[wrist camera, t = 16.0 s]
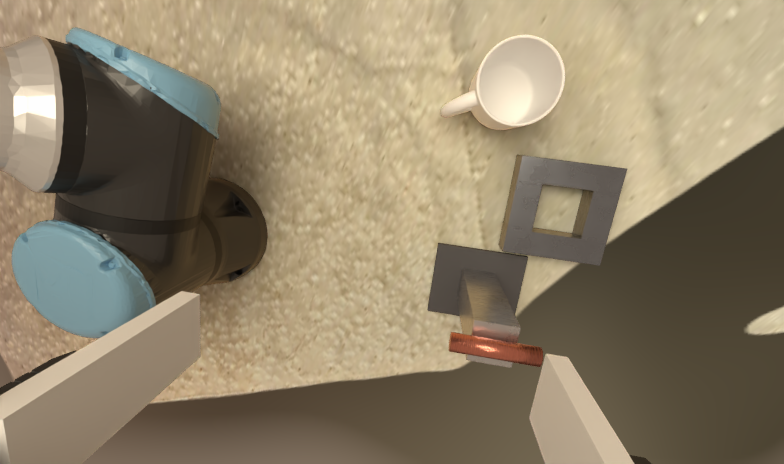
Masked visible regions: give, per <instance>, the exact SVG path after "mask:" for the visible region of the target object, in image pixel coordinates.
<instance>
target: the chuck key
mask: <svg viewBox="0 0 784 464" xmlns="http://www.w3.org/2000/svg"><path fill="white" fill-rule="evenodd" d="M457 299H458V306H459V313H460V319H461V326H462V333H463V334H460V333H454V332H451V334H450V340H449V351H450V352H456V353H462V354H466V360H470V361H476V362H481V363H487V364H492V365H498V366H504V367H510V368H511V367H512V363H513V362H514V363H519V364H525V365H530V366H537V367H540V366H541V365H542V361H543V351H542V349H541V347H537V346H531V345H525V344H519V343H517V341H518V337H519V333H520V329H521V328H520V325H519V323H518V321H517V319H516V317H515V315H514V312H513V310H512V308H511V306H510V304H509V302H508V300H507V298H506V295H505V293H504V291H503V289H502V287H501V285H500V283H499V281H498V278H497V276H496V274H495V273H492V272H486V271H479V270H473V269H467V268H463V269H462V274H461V280H460V285H459V290H458V296H457Z"/></svg>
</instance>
